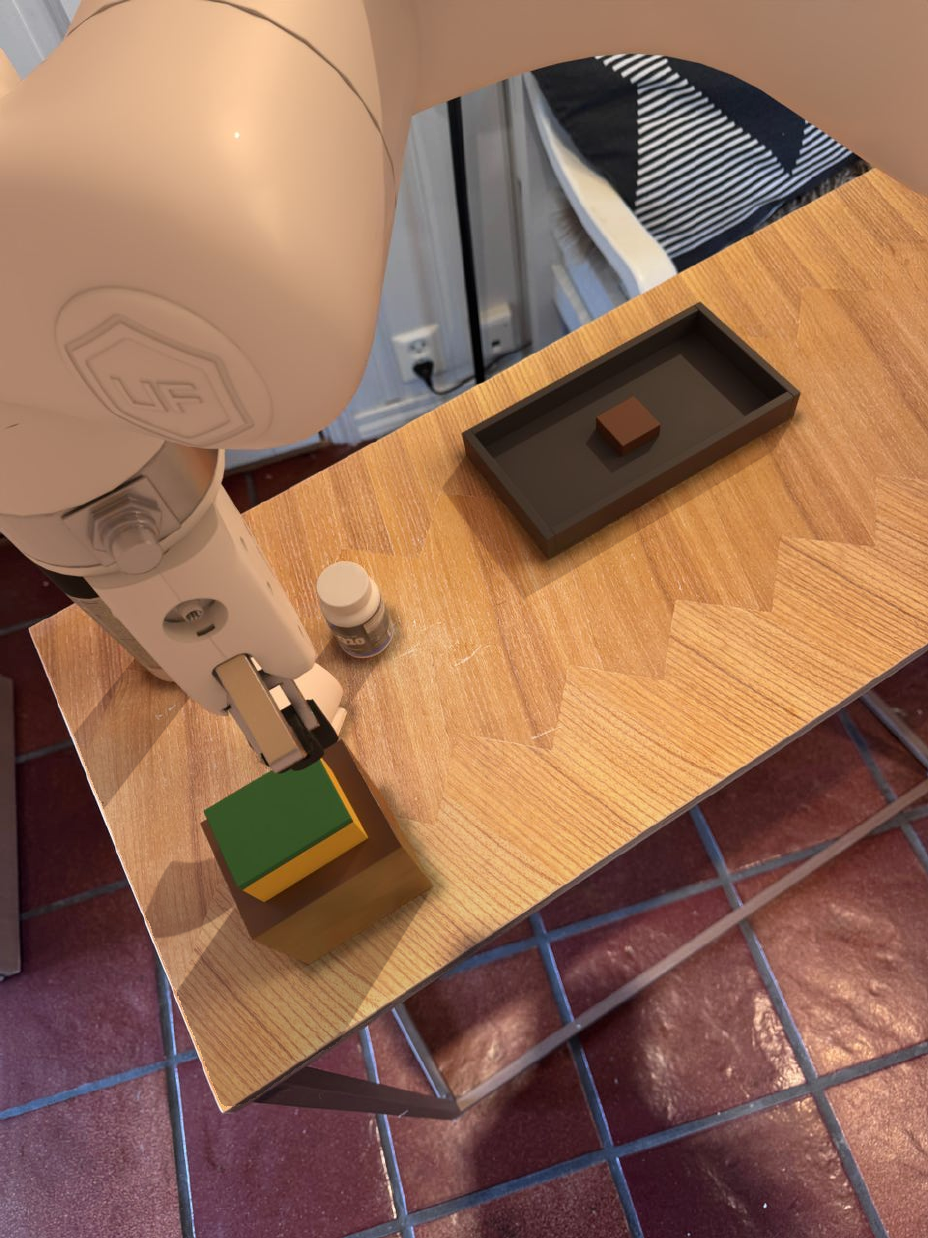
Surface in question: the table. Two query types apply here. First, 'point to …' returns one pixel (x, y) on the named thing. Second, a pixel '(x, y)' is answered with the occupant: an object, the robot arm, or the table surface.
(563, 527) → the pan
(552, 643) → the table surface
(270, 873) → the sponge
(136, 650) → the spray can
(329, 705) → the cream curved piece
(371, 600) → the pill bottle
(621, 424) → the reddish brown block
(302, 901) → the brown wooden cube
